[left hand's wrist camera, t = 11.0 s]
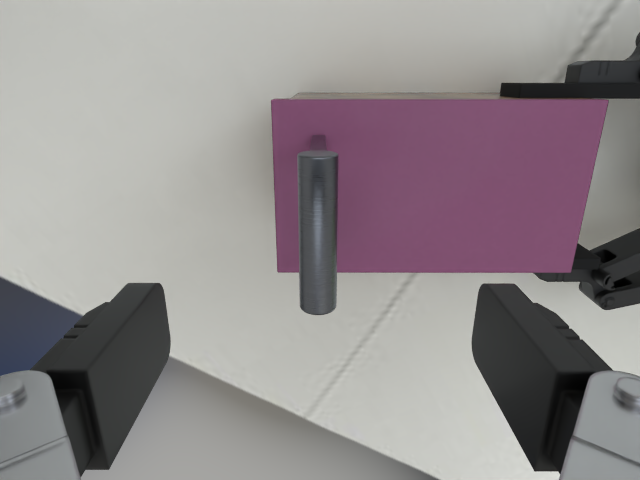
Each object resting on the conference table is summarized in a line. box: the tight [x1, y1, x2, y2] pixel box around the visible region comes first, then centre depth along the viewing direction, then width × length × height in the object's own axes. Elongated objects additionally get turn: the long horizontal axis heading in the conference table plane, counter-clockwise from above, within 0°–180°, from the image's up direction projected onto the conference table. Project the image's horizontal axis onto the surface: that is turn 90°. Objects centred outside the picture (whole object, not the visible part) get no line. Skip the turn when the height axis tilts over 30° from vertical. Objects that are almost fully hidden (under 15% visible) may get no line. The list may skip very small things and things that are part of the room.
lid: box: [271, 99, 608, 315], centre depth 20 cm, size 17×9×8 cm, turn 90°
